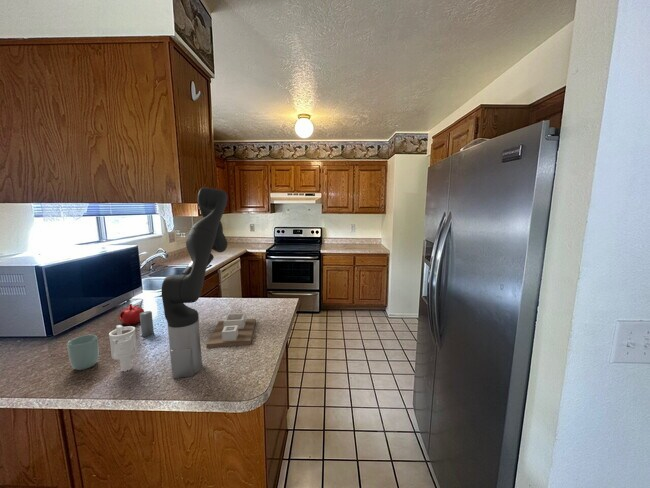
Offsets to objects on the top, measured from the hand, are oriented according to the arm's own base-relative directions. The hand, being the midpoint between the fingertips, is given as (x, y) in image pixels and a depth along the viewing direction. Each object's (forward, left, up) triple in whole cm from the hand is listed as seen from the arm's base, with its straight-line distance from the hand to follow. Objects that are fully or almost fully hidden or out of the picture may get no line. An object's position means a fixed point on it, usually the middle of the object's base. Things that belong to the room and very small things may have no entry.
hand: (171, 298), depth 123 cm
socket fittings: (-12, -29, -12) cm, 34 cm away
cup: (-29, +18, -14) cm, 37 cm away
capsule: (-7, +8, -14) cm, 17 cm away
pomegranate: (+9, +22, -14) cm, 28 cm away
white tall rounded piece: (-33, +3, -14) cm, 36 cm away
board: (-12, -29, -14) cm, 34 cm away
